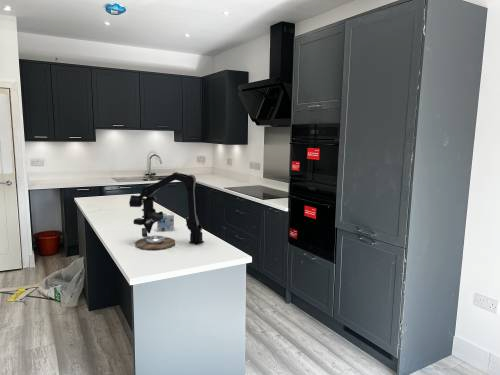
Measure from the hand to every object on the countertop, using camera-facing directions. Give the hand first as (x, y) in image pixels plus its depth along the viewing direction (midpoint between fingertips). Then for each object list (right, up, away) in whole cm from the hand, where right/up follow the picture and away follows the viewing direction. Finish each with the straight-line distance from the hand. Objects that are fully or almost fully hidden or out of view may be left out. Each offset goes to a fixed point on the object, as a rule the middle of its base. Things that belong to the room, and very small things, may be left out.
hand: (149, 233), depth 222 cm
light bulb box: (+4, -1, +26) cm, 27 cm away
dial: (+3, -4, -5) cm, 7 cm away
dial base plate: (+5, -6, -6) cm, 10 cm away
